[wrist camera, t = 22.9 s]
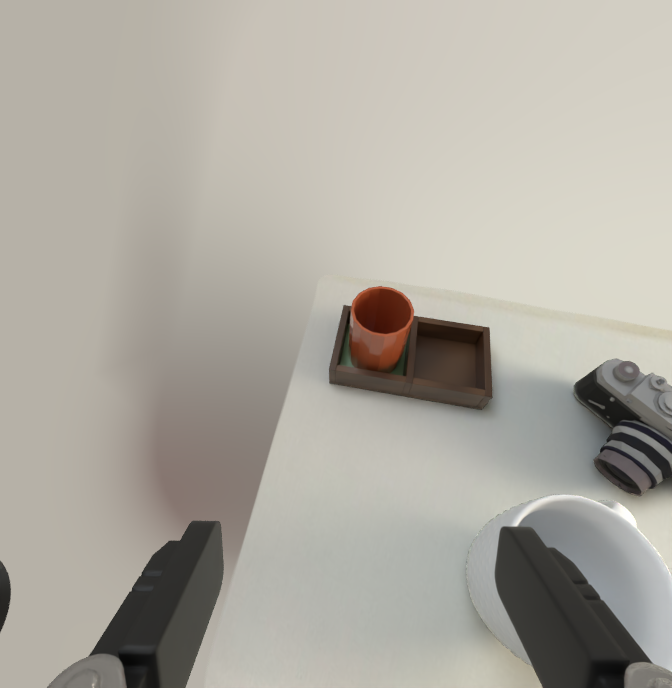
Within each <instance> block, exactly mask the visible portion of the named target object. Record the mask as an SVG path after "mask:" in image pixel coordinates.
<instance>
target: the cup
mask: <svg viewBox="0 0 672 688" xmlns="http://www.w3.org/2000/svg"><path fill="white" fill-rule="evenodd" d="M413 316H414V309H413V307H412V304H411V302H410V300H409V299H408V298H407V297H406V296H405V295H404V294H403V293H401V292H399V291H397V290H395V289H393V288H389V287H382V286H379V287H372V288H368V289H366V290H364V291H362V292H360V293H359V294H358V295H357V297H356V298H355V299H354V300H353V303H352V307H351V316H350V332H349V348H348V353H349V359H350V361H351V363H352V365H353V366H354V367H355V368H360V369H365V370H371V371H377V372H383V373H391V372H392V371H394V370H395V369H396V367H397V366H398V364H399V362H400V360H401V357H402V354H403V351H404V347H405V344H406V341H407V338H408V335H409V331H410V328H411V325H412V322H413Z"/></svg>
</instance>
